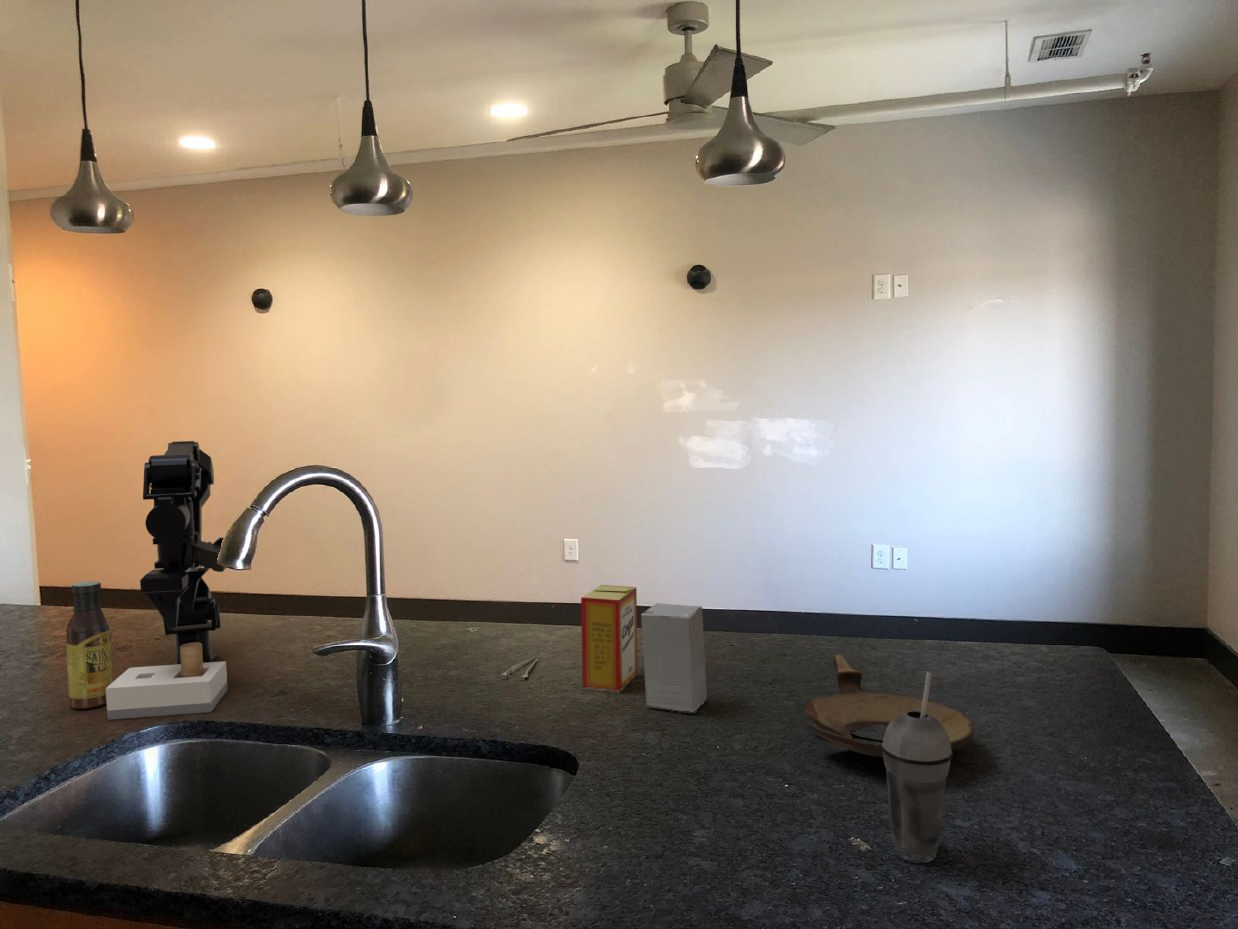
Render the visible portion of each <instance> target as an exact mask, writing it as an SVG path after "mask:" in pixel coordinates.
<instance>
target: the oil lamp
mask: <svg viewBox="0 0 1238 929" xmlns="http://www.w3.org/2000/svg"><path fill="white" fill-rule="evenodd" d="M833 665H834V670H835V673H836V679H837V680H836V681H837V685H838V689H839V693H837V694H833V695H827V696H821V697H819V698H816V699H813V700H810V701H809V702H808V703H807V704H806V708H805V711H804V715H805V716H806V717H807V718H809V720H811V721H812V722H813V723H814V724H813V723H810V722H809V723H808V724H807V729H808V730H810V731H811V732H812V733H814V734H816V735H817V736H819V737H821V738H822V739H825V740H826V741H828V742H830V743H832V744H834V745H837V746H839V747H842V748H845V749H846V750H850V751H852V752H855V753H858V754H861V755H865V756H871V757H875V758H876V757H878V758H883V750H882V749H881V746H882V743H877V744H876V743H869V742H864V741H860V740H857V739H854V738H853V735H852V734H850V732H856V730H862V729H863V728H865V727H868V726H869V727H870V726H871V727H872V726H874V725H877V726H878V725H885V726H888V725H889V723H890V722H891V721H892V720H893V719H894V718H895V717H896V716H898V715H899V714H901V713H904V712H907V711H921V709H922V702H923V699H919V698H914V697H909V696H903V695H899V694H894V693H893V694H891V693H884V692H883V693H881V692H869V691H865V690H864V689H863V688H862V682H861V681H862V678H863V677H862V671H859V670H855V669H853V668H852V666H851V665H850V664H849V663H848V661H847V660H846V658H845V657H844V656H843V655H841V654H839V653H836V654H834V656H833ZM926 713H927V714H929V715H931V716H932V717H934V718H936V719H937V720H938V721H939V722H940V723H941V725H942V726H943V727H944V728H945V730H946V732H947V734H948V736H949V739H950V743H951V750H952V751H953V750H954V749H957V748H960V747H961V746H963V745H965V744H967V743H968V742H970V741H971V739H972V738H973V735H974V732H975V726H974V723H973V721H972V720H971V719H970V718H969V717H968V716H966V715H964V713H962V712H961V711H960V710H957V709H954V708H951V707H949V706H947V705H944V704H942V703H937V702H935V701H929V700H928V702H927V709H926ZM815 724H816V725H817V726H816V725H815ZM819 726H820V727H819Z"/></svg>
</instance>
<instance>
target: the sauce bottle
mask: <svg viewBox="0 0 1238 929" xmlns="http://www.w3.org/2000/svg"><path fill="white" fill-rule="evenodd" d="M101 585H102V584H101V582H100V581H97V580H93V581H92V580H91V581H89V580H88V581H82V582H76V583H72V584H71V593H72V595H73V608H72V610H73V614H72V616H71V617H70V619H69V621H68V623H67V625H66V630H65V631H66V633H65V634H66V643H65V644H66V647H65V648H66V651H65V652H66V667H67V668H66V670H67V671H66V672H67V690H68V697H69V706H70V707H71V708H73V709H80V710H86V709H87V710H88V709H92V708H96V707H100V706H103V705H107V701H106V688H107V687H108V686H109V685H110V684H111V683H112V682H114V677H113V673H114V672H113V657H112V656H113V651H112V632H111V629H110V627H109V624H108V622H107V620H106V617H105V615H104V612H103V610H102V604H101V590H102V586H101Z"/></svg>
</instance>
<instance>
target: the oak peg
mask: <svg viewBox="0 0 1238 929" xmlns="http://www.w3.org/2000/svg"><path fill="white" fill-rule="evenodd" d="M180 656H181V675H182V678H184V677H199V676H203V675H204V674H203V654H202V644H201V643H187V644H183V645H181V646H180Z"/></svg>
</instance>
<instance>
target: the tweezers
mask: <svg viewBox="0 0 1238 929" xmlns="http://www.w3.org/2000/svg"><path fill="white" fill-rule="evenodd" d="M533 658H534V657H532V658H530V659H527V660H525V661H522V662H519V663H517V664H515V665H513V666H511V668H509V669H507V670H506V671H505V672H503V673H502V674H501V675H507V674H508V673H510V672H511V671H514V670H515V669H517V668H518V667H520V666H521V665H522V664H524V663H526V662H528V661H530V660H531V659H533ZM537 660H538V658H536V659H535V660H534V662H532V664H531V665H529V667H528V668H527V669H526V671H525V674H524V675H522V676H521V677H527V678H528V677H529V674H528V671H529V670H530V669H531V668H532V667H533V665H534V664H535V662H536V661H537ZM538 661H539V660H538ZM535 665H536V664H535ZM535 665H534V666H535ZM533 668H534V667H533ZM533 668H532V669H533ZM527 674H528V675H527Z"/></svg>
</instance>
